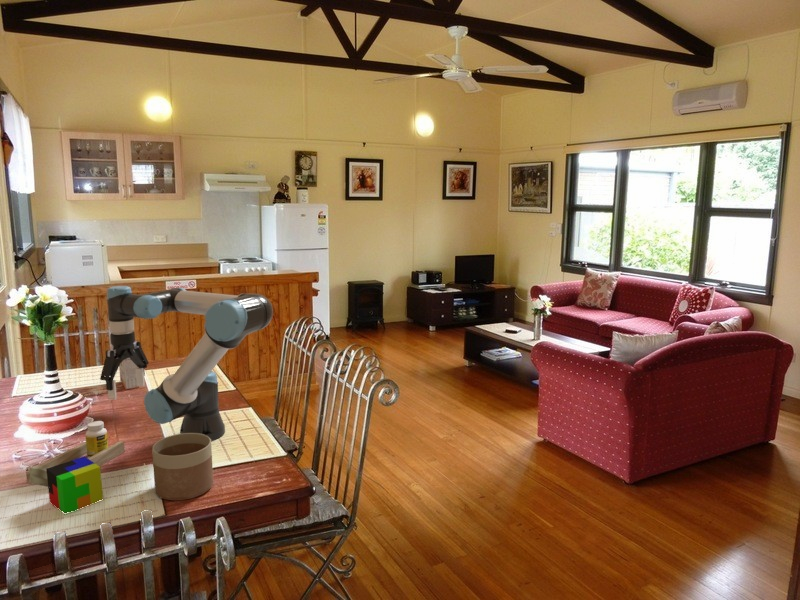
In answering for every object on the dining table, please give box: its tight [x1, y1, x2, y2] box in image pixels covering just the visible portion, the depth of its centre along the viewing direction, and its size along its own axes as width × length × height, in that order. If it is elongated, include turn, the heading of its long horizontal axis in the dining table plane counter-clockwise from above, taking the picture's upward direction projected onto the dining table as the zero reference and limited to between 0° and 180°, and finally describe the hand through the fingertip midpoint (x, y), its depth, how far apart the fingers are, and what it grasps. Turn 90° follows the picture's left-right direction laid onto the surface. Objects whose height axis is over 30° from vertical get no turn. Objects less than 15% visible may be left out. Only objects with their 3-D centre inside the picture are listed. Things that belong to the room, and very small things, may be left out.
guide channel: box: [25, 440, 125, 488], centre depth 184 cm, size 12×26×5 cm, turn 164°
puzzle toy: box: [46, 456, 104, 513], centre depth 163 cm, size 10×10×10 cm
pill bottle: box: [85, 420, 109, 459], centre depth 191 cm, size 6×6×11 cm
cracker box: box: [118, 349, 140, 391], centre depth 260 cm, size 14×6×21 cm, turn 33°
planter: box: [151, 433, 214, 501], centre depth 170 cm, size 16×16×14 cm
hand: (127, 392), depth 203 cm, fingers open, 13 cm apart
